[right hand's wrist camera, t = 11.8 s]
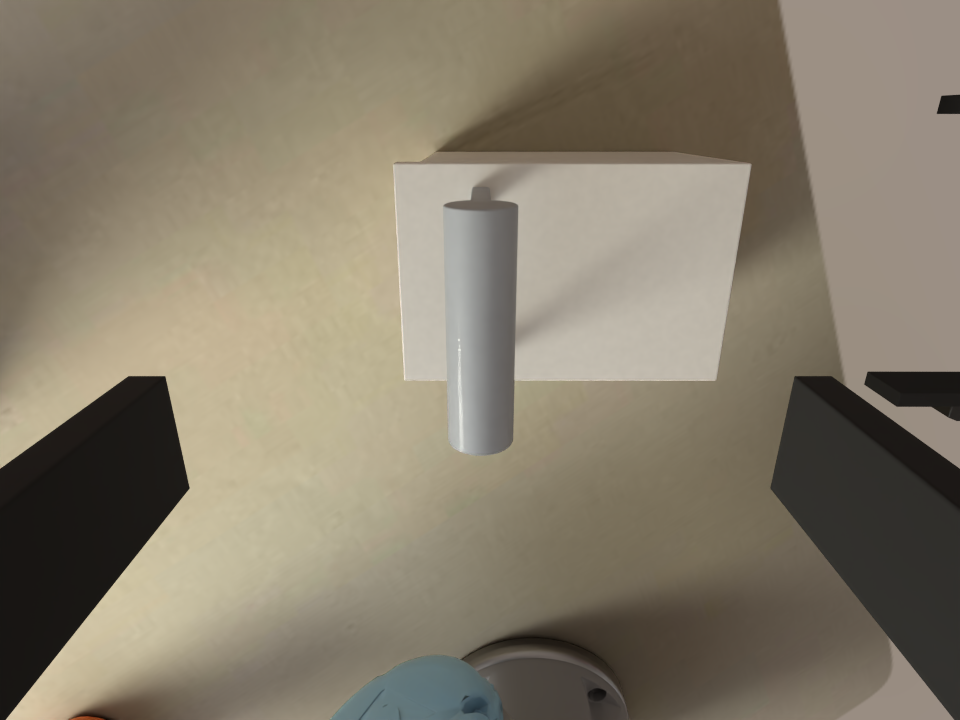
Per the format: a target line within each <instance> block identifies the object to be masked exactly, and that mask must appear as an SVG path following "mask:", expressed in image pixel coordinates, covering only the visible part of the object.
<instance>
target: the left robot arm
mask: <svg viewBox="0 0 960 720" xmlns="http://www.w3.org/2000/svg"><path fill="white" fill-rule="evenodd" d="M937 114H960V95H948V96H941V100H940V104H939V107H938V111H937ZM865 385H866V386H867V387H869V388H870V389H872V390H873V391H875V392H876V393H878V394H879V395H881V396H882V397H884V398H885V399H887V400H888V401H889V402H891V403H892V404H894V405H895V406H897V407H933V408H934V409H936V410H938V411H939V412H941V413H942V414H944V415H945V416H947V417H949V418H951V419H954V420H956V421H960V372H868V373H867V376H866V380H865ZM330 720H629V717H628V712H627V708H626V704H625V700H624V696H623V692H622V688H621V685H620V683H619V681H618V679H617V677H616V676H615V674H614V673H613V671H612V670H611V669H610V668H609V667H608V666H607V665H606V664H605V663H604V662H603V661H602V660H601V659H599V658H598V657H597V656H595V655H594V654H592V653H590V652H589V651H587V650H585V649H582V648H580V647H578V646H575V645H572V644H569V643H566V642H562V641H557V640H552V639H543V638H523V639H514V640H508V641H503V642H499V643H496V644H492V645H490V646H487V647H484V648H482V649H480V650H478V651H476V652H474V653H472V654H470V655H469V656H467V657H466V658H464V659H463V660H460V659H458V658H455V657H451V656H445V655H430V656H423V657H419V658H415V659H412V660H409V661H406V662H404V663H401V664H399V665H397V666H395V667H394V668H393V669H392V670H390V671H389V672H387V673H386V674H384V675H382V676H377V677H376V678H375V679H373V680H372V681H370V682H369V683H368V684H366V685H365V686H364V687H363V688H361V689H360V690H359V691H358V692H357V693H356V694H354V695H353V696H352V697H351V698H350V699H349V700H348V701H347V702H346V703H345V704H344V705H343V706H342V707H341V708H340V709H339V710H338V711H337V712H336V713H335V715H334V716H333V717H332V718H331V719H330Z"/></svg>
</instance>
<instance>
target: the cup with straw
mask: <svg viewBox="0 0 960 720" xmlns="http://www.w3.org/2000/svg"><path fill="white" fill-rule="evenodd" d="M69 720H105V719H102V718H97V717H89V716H83V717H76V718H72V719H69Z"/></svg>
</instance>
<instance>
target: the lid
mask: <svg viewBox="0 0 960 720" xmlns="http://www.w3.org/2000/svg"><path fill="white" fill-rule="evenodd" d="M751 166H752V164H751V163H746V162H396V163H394V164H393V172H394V191H395V210H396V229H397V248H398V267H399V287H400V306H401V325H402V344H403V363H404V379H405V380H447V404H448V440H449V443H450V445H451V446H452V447H453V448H454V449H456V450H457V451H460V452H462V453H465V454H470V455H480V456H481V455H492V454H496V453H499V452H502V451H504V450H506V449H507V448H508V447H509V446H510V445H511V443H512V441H513V416H514V380H529V381H716V380H717V374H718V368H719V362H720V355H721V349H722V343H723V337H724V331H725V325H726V319H727V313H728V306H729V300H730V294H731V288H732V282H733V276H734V270H735V264H736V257H737V251H738V245H739V239H740V233H741V227H742V221H743V215H744V209H745V202H746V196H747V190H748V184H749V178H750V172H751Z"/></svg>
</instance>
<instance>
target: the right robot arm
mask: <svg viewBox="0 0 960 720" xmlns="http://www.w3.org/2000/svg"><path fill="white" fill-rule="evenodd" d="M188 490H189V483H188V479H187V474H186V470H185V465H184V460H183V456H182V451H181V447H180V442H179V437H178V433H177V428H176V423H175V419H174V414H173V410H172V405H171V400H170V396H169V391H168V387H167V382H166V377H165V376H128V377H127V378H126V379H124V380H123V381H121V382H120V383H119V384H117V385H116V386H114V387H113V388H112V389H110V390H109V391H108V392H106V393H105V394H103V395H102V396H101V397H99V398H98V399H96V400H95V401H94V402H92V403H91V404H89V405H88V406H87V407H85V408H84V409H83V410H81V411H80V412H78V413H77V414H76V415H74V416H73V417H71V418H70V419H69V420H67V421H66V422H65V423H63V424H62V425H60V426H59V427H58V428H56V429H55V430H53V431H52V432H51V433H49V434H48V435H46V436H45V437H44V438H42V439H41V440H40V441H38V442H37V443H35V444H34V445H33V446H31V447H30V448H28V449H27V450H26V451H24V452H23V453H22V454H20V455H19V456H17V457H16V458H15V459H13V460H12V461H10V462H9V463H8V464H6V465H5V466H3V467H2V468H1V469H0V720H6V719H7V717H8V716H9V715H10V714H11V712H12V711H13V710H14V708H15V707H16V706H17V705H18V703H19V702H20V701H21V700H22V698H23V697H24V696H25V695H26V693H27V692H28V691H29V690H30V688H31V687H32V686H33V685H34V683H35V682H36V681H37V680H38V678H39V677H40V676H41V675H42V673H43V672H44V671H45V670H46V668H47V667H48V666H49V664H50V663H51V662H52V661H53V659H54V658H55V657H56V656H57V654H58V653H59V652H60V651H61V649H62V648H63V647H64V646H65V644H66V643H67V642H68V641H69V639H70V638H71V637H72V636H73V634H74V633H75V632H76V631H77V629H78V628H79V627H80V625H81V624H82V623H83V622H84V620H85V619H86V618H87V617H88V615H89V614H90V613H91V612H92V610H93V609H94V608H95V607H96V605H97V604H98V603H99V602H100V600H101V599H102V598H103V597H104V595H105V594H106V593H107V592H108V590H109V589H110V588H111V586H112V585H113V584H114V583H115V581H116V580H117V579H118V578H119V576H120V575H121V574H122V573H123V571H124V570H125V569H126V568H127V566H128V565H129V564H130V563H131V561H132V560H133V559H134V558H135V556H136V555H137V554H138V553H139V551H140V550H141V549H142V547H143V546H144V545H145V544H146V542H147V541H148V540H149V539H150V537H151V536H152V535H153V534H154V532H155V531H156V530H157V529H158V527H159V526H160V525H161V524H162V522H163V521H164V520H165V519H166V517H167V516H168V515H169V514H170V512H171V511H172V510H173V509H174V507H175V506H176V505H177V503H178V502H179V501H180V500H181V498H182V497H183V496H184V495H185V493H186V492H187V491H188ZM771 490H772V491H773V492H774V493H775V495H776V496H777V497H778V498H779V500H780V501H781V502H782V503H783V505H784V506H785V507H786V509H787V510H788V511H789V512H790V514H791V515H792V516H793V517H794V519H795V520H796V521H797V522H798V524H799V525H800V526H801V527H802V529H803V530H804V531H805V532H806V534H807V535H808V536H809V537H810V539H811V540H812V541H813V542H814V544H815V545H816V546H817V547H818V549H819V550H820V551H821V553H822V554H823V555H824V556H825V558H826V559H827V560H828V561H829V563H830V564H831V565H832V566H833V568H834V569H835V570H836V571H837V573H838V574H839V575H840V576H841V578H842V579H843V580H844V581H845V583H846V584H847V585H848V586H849V588H850V589H851V590H852V592H853V593H854V594H855V595H856V597H857V598H858V599H859V600H860V602H861V603H862V604H863V605H864V607H865V608H866V609H867V610H868V612H869V613H870V614H871V615H872V617H873V618H874V619H875V620H876V622H877V623H878V624H879V625H880V627H881V628H882V629H883V631H884V632H885V633H886V634H887V636H888V637H889V638H890V639H891V641H892V642H893V643H894V644H895V646H896V647H897V648H898V649H899V651H900V652H901V653H902V654H903V656H904V657H905V658H906V659H907V661H908V662H909V663H910V664H911V666H912V667H913V668H914V670H915V671H916V672H917V673H918V675H919V676H920V677H921V678H922V680H923V681H924V682H925V683H926V685H927V686H928V687H929V688H930V690H931V691H932V692H933V693H934V695H935V696H936V697H937V698H938V700H939V701H940V702H941V703H942V705H943V706H944V707H945V708H946V710H947V711H948V712H949V714H950V715H951V716H952V717H953V719H954V720H960V469H959V468H958V467H957V466H955V465H954V464H952V463H951V462H950V461H948V460H947V459H945V458H944V457H942V456H941V455H940V454H938V453H937V452H936V451H934V450H933V449H931V448H930V447H929V446H927V445H926V444H925V443H923V442H922V441H920V440H919V439H918V438H916V437H915V436H914V435H912V434H911V433H909V432H908V431H907V430H905V429H904V428H902V427H901V426H900V425H898V424H897V423H895V422H894V421H893V420H891V419H890V418H888V417H887V416H886V415H884V414H883V413H882V412H880V411H879V410H877V409H876V408H875V407H873V406H872V405H870V404H869V403H868V402H866V401H865V400H864V399H862V398H861V397H859V396H858V395H856V394H855V393H854V392H852V391H851V390H850V389H848V388H847V387H846V386H844V385H843V384H841V383H840V382H839V381H837V380H836V379H834V378H833V377H832V376H795V377H794V382H793V387H792V391H791V396H790V400H789V405H788V410H787V414H786V419H785V423H784V428H783V433H782V437H781V442H780V447H779V451H778V456H777V460H776V465H775V470H774V474H773V479H772V483H771Z"/></svg>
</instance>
